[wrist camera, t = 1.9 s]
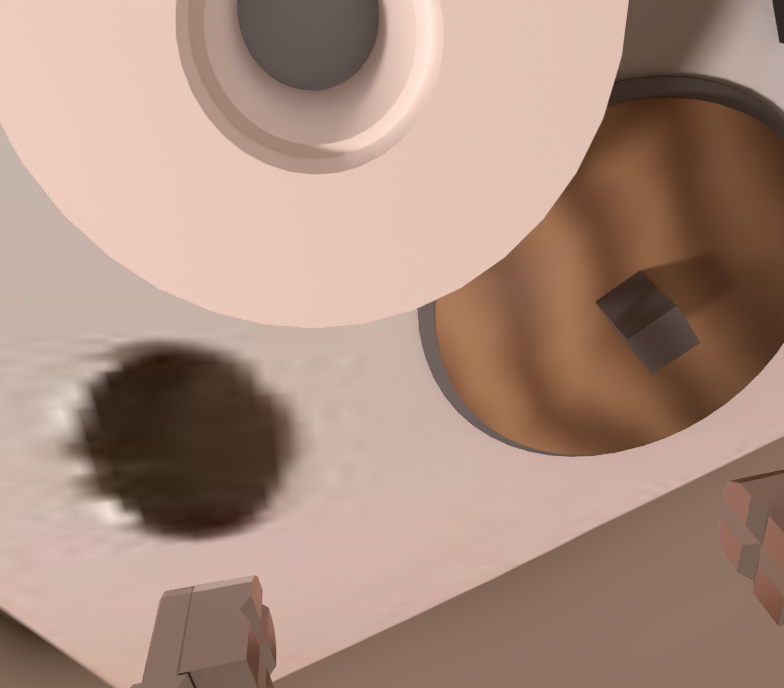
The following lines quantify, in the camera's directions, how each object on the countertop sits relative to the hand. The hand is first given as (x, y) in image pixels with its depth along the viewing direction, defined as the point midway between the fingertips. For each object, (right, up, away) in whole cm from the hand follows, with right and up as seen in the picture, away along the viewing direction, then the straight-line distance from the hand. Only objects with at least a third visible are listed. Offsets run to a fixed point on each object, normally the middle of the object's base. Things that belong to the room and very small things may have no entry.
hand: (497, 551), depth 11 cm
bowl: (-6, +21, +23) cm, 32 cm away
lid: (+14, +7, +34) cm, 37 cm away
